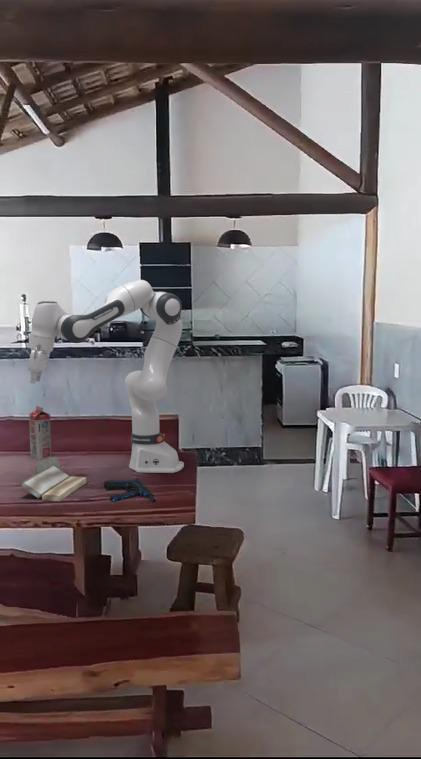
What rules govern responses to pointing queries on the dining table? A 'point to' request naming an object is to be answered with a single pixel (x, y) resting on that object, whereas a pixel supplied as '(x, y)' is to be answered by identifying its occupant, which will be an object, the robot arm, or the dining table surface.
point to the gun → (128, 489)
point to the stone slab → (47, 463)
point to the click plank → (43, 481)
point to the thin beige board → (64, 488)
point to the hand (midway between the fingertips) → (35, 382)
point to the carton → (40, 434)
